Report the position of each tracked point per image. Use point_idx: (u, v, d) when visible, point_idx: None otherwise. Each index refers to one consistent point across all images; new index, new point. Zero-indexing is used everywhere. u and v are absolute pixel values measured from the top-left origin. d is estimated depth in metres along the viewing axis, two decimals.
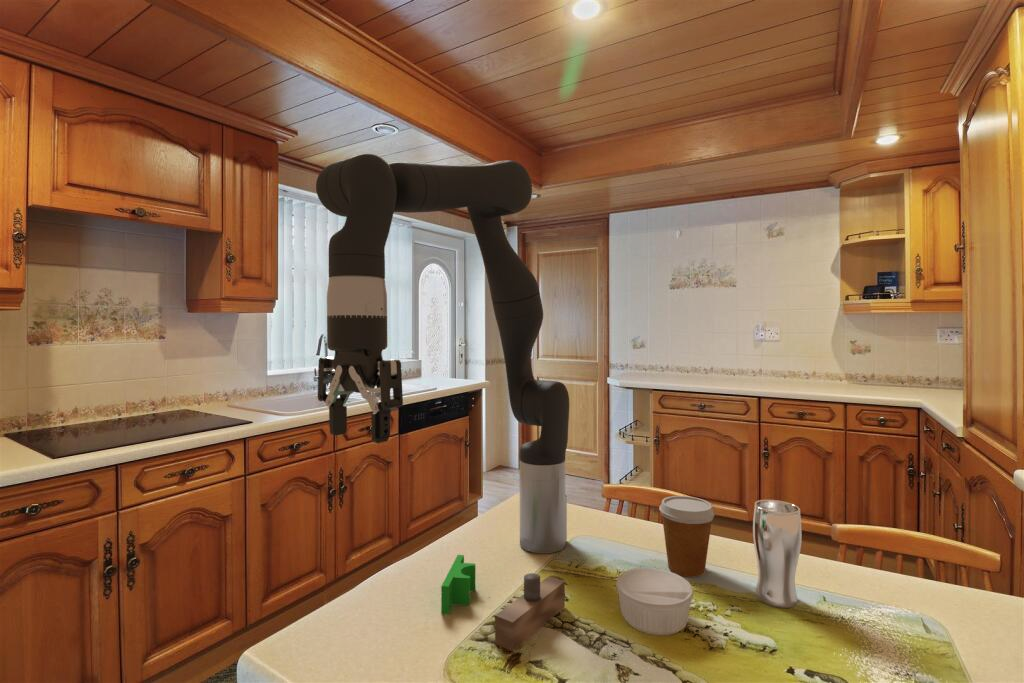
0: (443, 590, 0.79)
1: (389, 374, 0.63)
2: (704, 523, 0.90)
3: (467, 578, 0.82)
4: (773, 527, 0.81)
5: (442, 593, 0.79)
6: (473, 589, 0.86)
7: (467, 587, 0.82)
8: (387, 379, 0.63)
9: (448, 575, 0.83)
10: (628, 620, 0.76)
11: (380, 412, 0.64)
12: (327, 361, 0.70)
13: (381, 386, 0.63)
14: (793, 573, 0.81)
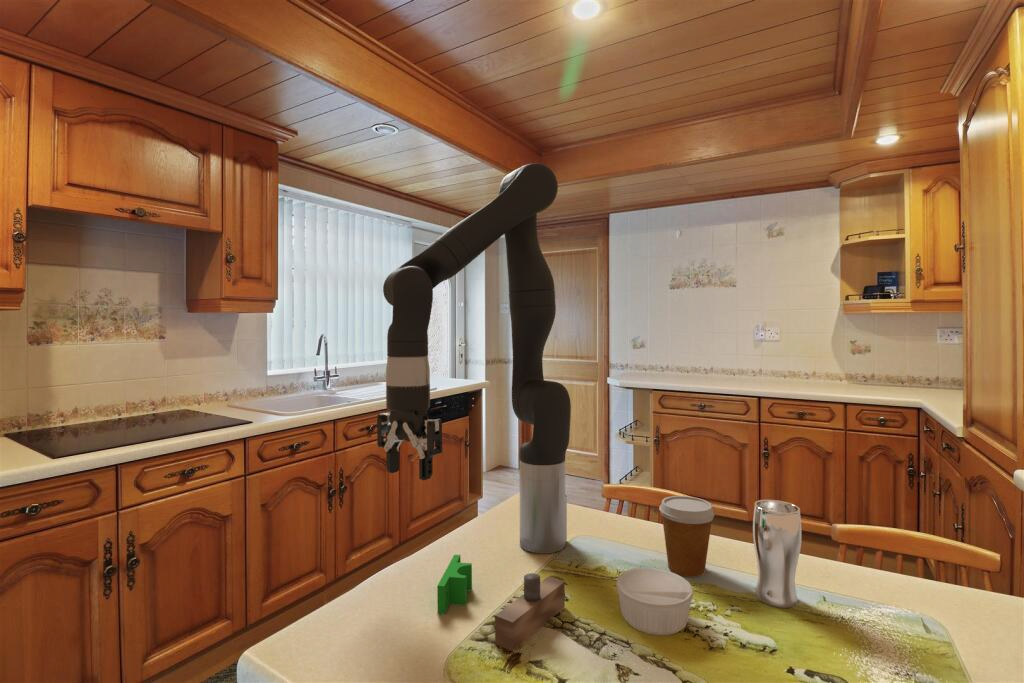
0: (439, 589, 0.79)
1: (434, 431, 0.86)
2: (704, 523, 0.90)
3: (463, 578, 0.82)
4: (772, 527, 0.81)
5: (438, 593, 0.79)
6: (469, 589, 0.86)
7: (463, 587, 0.82)
8: (432, 435, 0.86)
9: (444, 575, 0.83)
10: (628, 620, 0.76)
11: (426, 458, 0.88)
12: (383, 416, 0.94)
13: (427, 439, 0.87)
14: (793, 573, 0.81)
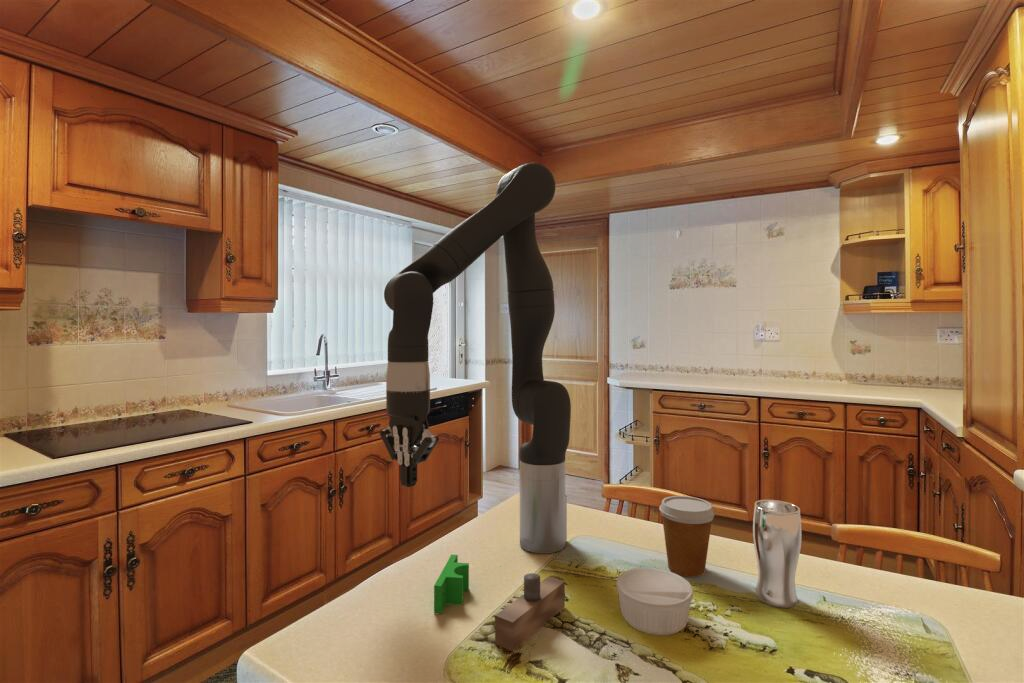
0: (436, 589, 0.79)
1: (427, 447, 0.87)
2: (704, 523, 0.90)
3: (460, 578, 0.82)
4: (772, 527, 0.81)
5: (435, 593, 0.79)
6: (466, 589, 0.86)
7: (460, 587, 0.82)
8: (424, 450, 0.87)
9: (441, 574, 0.83)
10: (628, 620, 0.76)
11: (410, 465, 0.90)
12: (385, 430, 0.94)
13: (418, 449, 0.88)
14: (793, 573, 0.81)
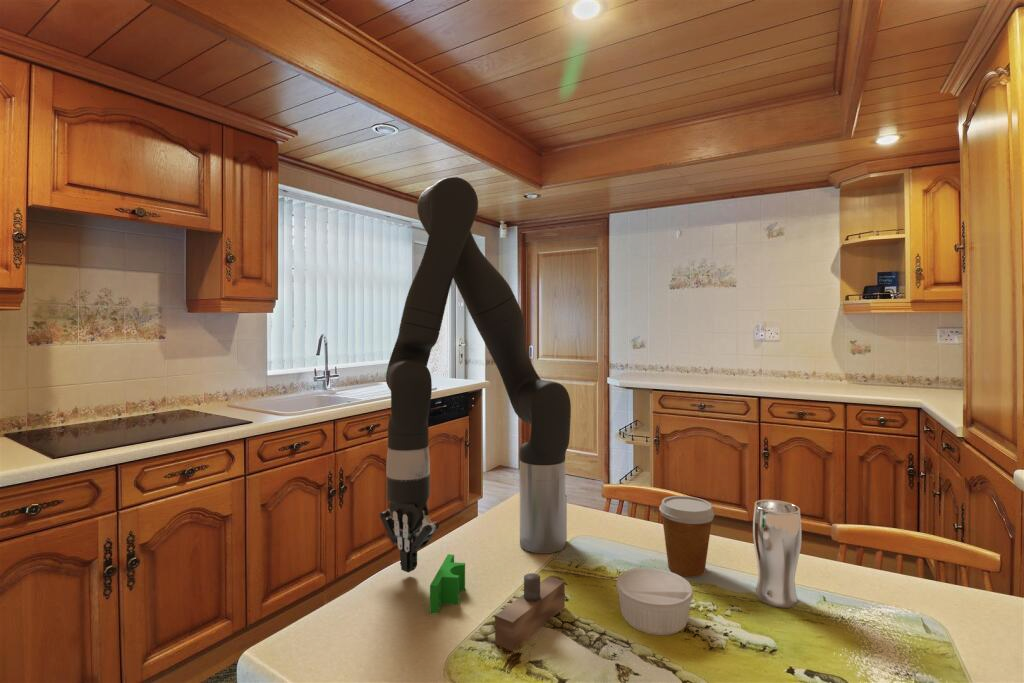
0: (431, 589, 0.79)
1: (427, 535, 0.88)
2: (704, 523, 0.90)
3: (456, 577, 0.82)
4: (772, 527, 0.81)
5: (431, 592, 0.79)
6: (463, 588, 0.86)
7: (456, 587, 0.82)
8: (424, 538, 0.88)
9: (437, 574, 0.83)
10: (628, 620, 0.76)
11: (410, 551, 0.90)
12: (386, 513, 0.94)
13: (418, 537, 0.88)
14: (793, 573, 0.81)
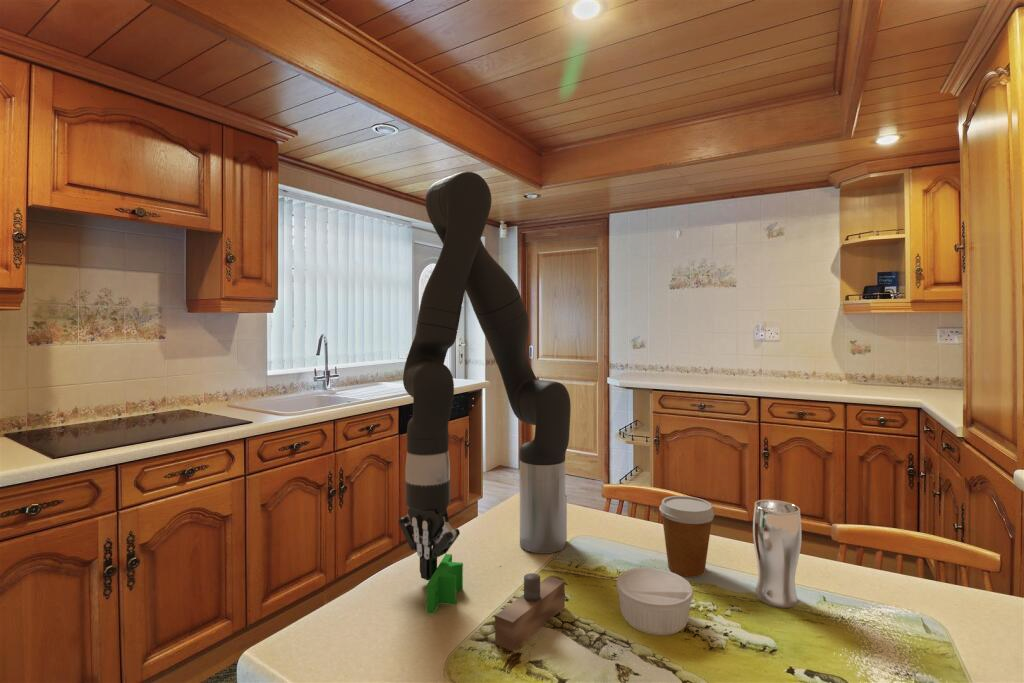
0: (428, 588, 0.79)
1: (447, 543, 0.85)
2: (704, 523, 0.90)
3: (453, 577, 0.82)
4: (772, 527, 0.81)
5: (427, 592, 0.79)
6: (460, 588, 0.86)
7: (453, 586, 0.82)
8: (444, 546, 0.85)
9: (434, 574, 0.83)
10: (628, 620, 0.76)
11: (430, 558, 0.87)
12: (404, 519, 0.91)
13: (438, 544, 0.86)
14: (793, 573, 0.81)
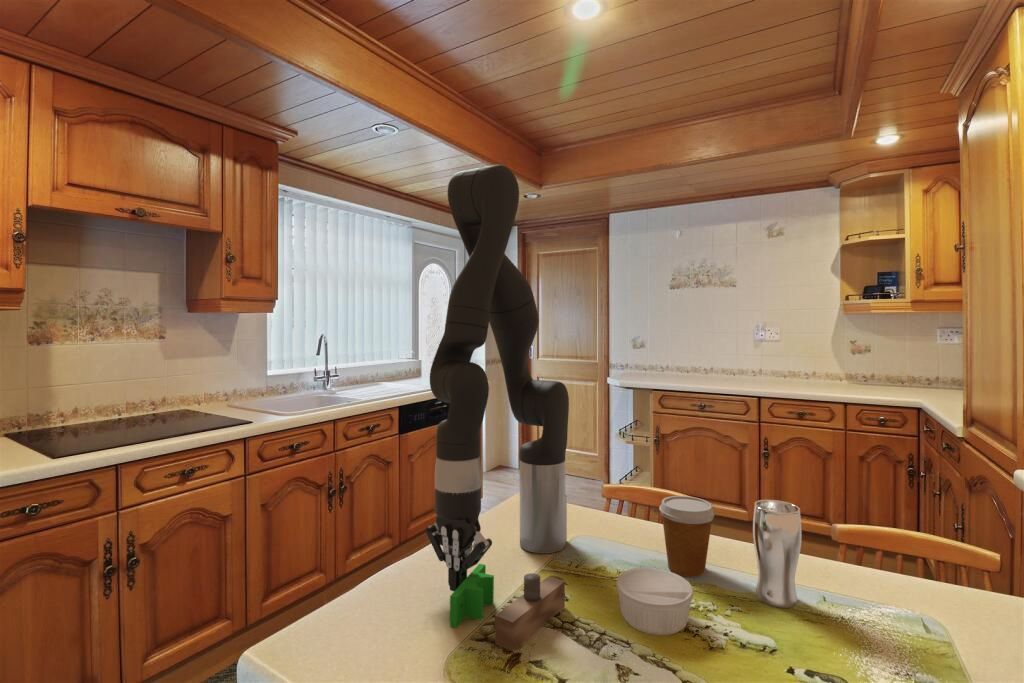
0: (452, 600, 0.76)
1: (480, 554, 0.81)
2: (704, 523, 0.90)
3: (479, 590, 0.78)
4: (772, 527, 0.81)
5: (451, 603, 0.76)
6: (490, 602, 0.82)
7: (479, 600, 0.78)
8: (476, 557, 0.81)
9: (461, 585, 0.79)
10: (628, 620, 0.76)
11: (460, 570, 0.83)
12: (432, 527, 0.87)
13: (469, 555, 0.81)
14: (793, 573, 0.81)
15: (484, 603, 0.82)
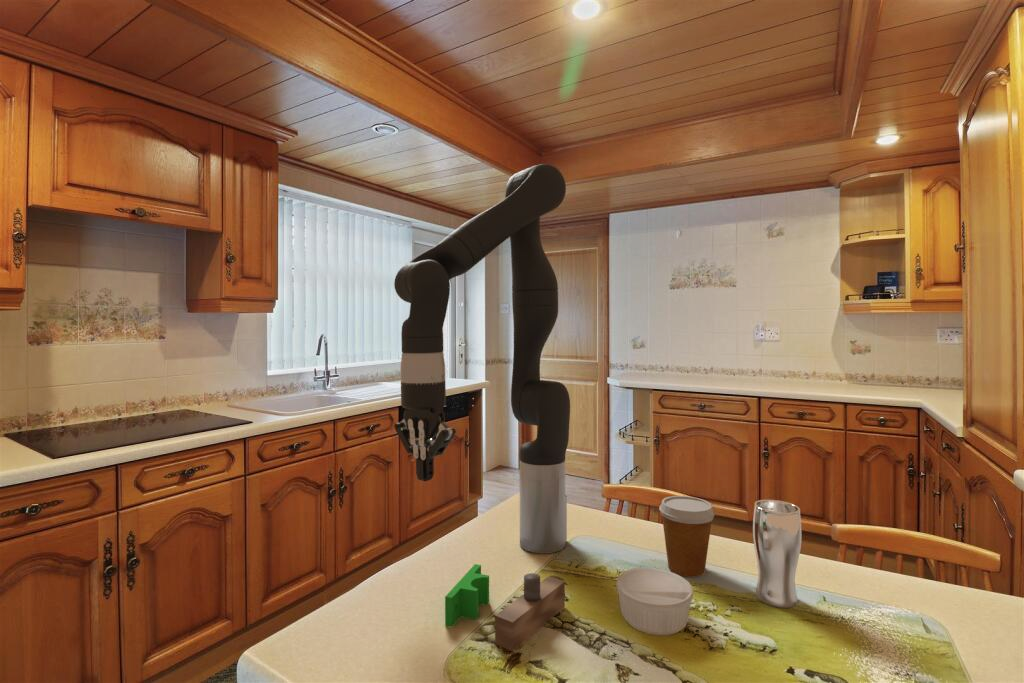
0: (447, 600, 0.76)
1: (444, 440, 0.85)
2: (704, 523, 0.90)
3: (474, 591, 0.78)
4: (773, 527, 0.81)
5: (446, 604, 0.76)
6: (486, 602, 0.82)
7: (474, 600, 0.78)
8: (441, 443, 0.85)
9: (456, 585, 0.79)
10: (628, 620, 0.76)
11: (427, 459, 0.88)
12: (400, 424, 0.91)
13: (434, 443, 0.86)
14: (793, 573, 0.81)
15: (480, 603, 0.82)
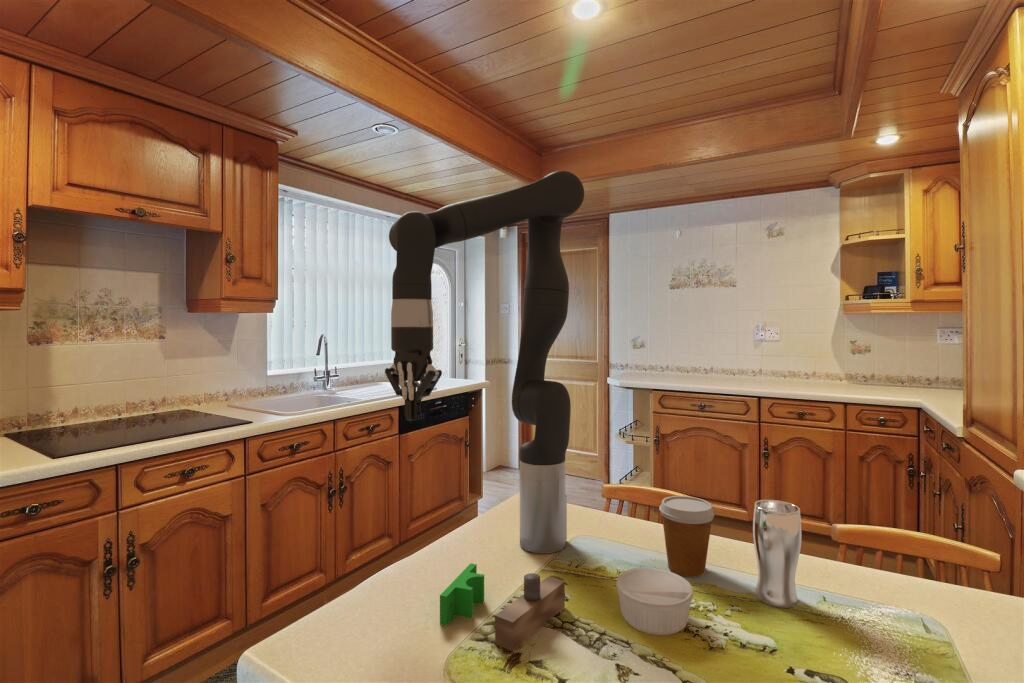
0: (441, 599, 0.76)
1: (430, 381, 0.91)
2: (704, 523, 0.90)
3: (469, 590, 0.78)
4: (772, 527, 0.81)
5: (440, 603, 0.76)
6: (481, 601, 0.82)
7: (469, 599, 0.78)
8: (427, 383, 0.91)
9: (451, 584, 0.80)
10: (628, 620, 0.76)
11: (414, 399, 0.93)
12: (390, 368, 0.97)
13: (422, 383, 0.91)
14: (793, 573, 0.81)
15: (475, 602, 0.82)
